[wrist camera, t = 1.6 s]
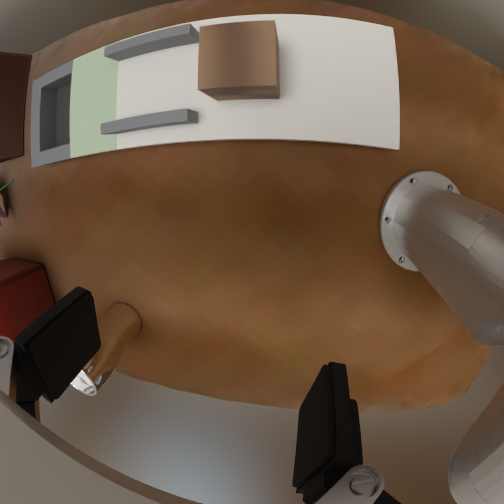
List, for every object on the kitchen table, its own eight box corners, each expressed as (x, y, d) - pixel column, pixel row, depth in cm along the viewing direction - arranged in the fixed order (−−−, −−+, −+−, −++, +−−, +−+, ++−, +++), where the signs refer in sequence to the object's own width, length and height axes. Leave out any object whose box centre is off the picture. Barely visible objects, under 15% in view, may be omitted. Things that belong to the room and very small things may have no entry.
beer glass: (121, 335, 43) (76, 394, 29) (102, 302, 40) (49, 356, 27) (151, 333, 41) (107, 399, 27) (132, 297, 39) (76, 358, 25)
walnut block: (278, 45, 21) (274, 20, 15) (279, 99, 23) (276, 85, 17) (218, 48, 21) (199, 26, 16) (217, 100, 24) (197, 89, 18)
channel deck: (382, 39, 21) (402, 17, 15) (386, 149, 26) (411, 150, 20) (50, 82, 27) (19, 80, 21) (49, 164, 33) (17, 171, 26)
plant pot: (26, 316, 48) (-16, 354, 32) (4, 243, 41) (-50, 274, 25) (76, 336, 46) (29, 387, 30) (50, 249, 39) (-18, 293, 23)
